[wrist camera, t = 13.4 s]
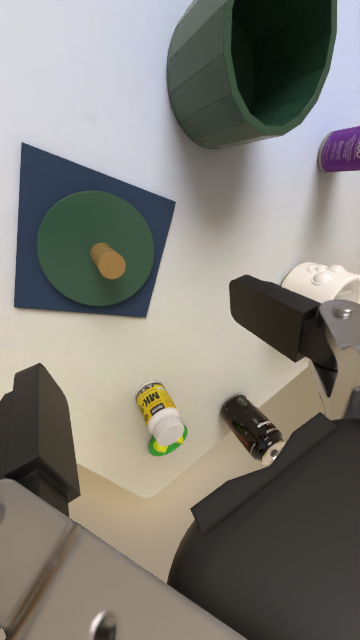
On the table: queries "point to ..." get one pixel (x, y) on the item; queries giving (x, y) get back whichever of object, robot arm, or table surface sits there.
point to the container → (340, 151)
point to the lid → (95, 248)
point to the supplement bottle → (159, 413)
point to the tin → (248, 67)
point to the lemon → (162, 450)
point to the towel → (47, 189)
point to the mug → (323, 282)
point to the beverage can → (253, 429)
